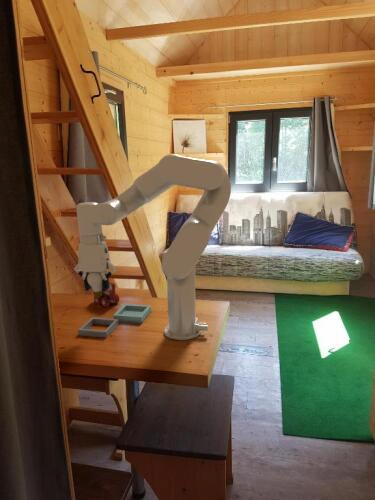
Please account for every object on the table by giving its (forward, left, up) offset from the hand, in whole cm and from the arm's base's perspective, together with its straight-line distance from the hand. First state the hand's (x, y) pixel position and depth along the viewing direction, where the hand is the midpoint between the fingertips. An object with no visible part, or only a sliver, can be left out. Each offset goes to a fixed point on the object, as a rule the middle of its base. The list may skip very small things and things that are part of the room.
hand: (97, 289), depth 131 cm
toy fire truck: (+9, -24, -16) cm, 30 cm away
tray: (-7, -13, -15) cm, 21 cm away
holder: (+1, 0, -15) cm, 15 cm away
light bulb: (0, 0, -3) cm, 3 cm away
